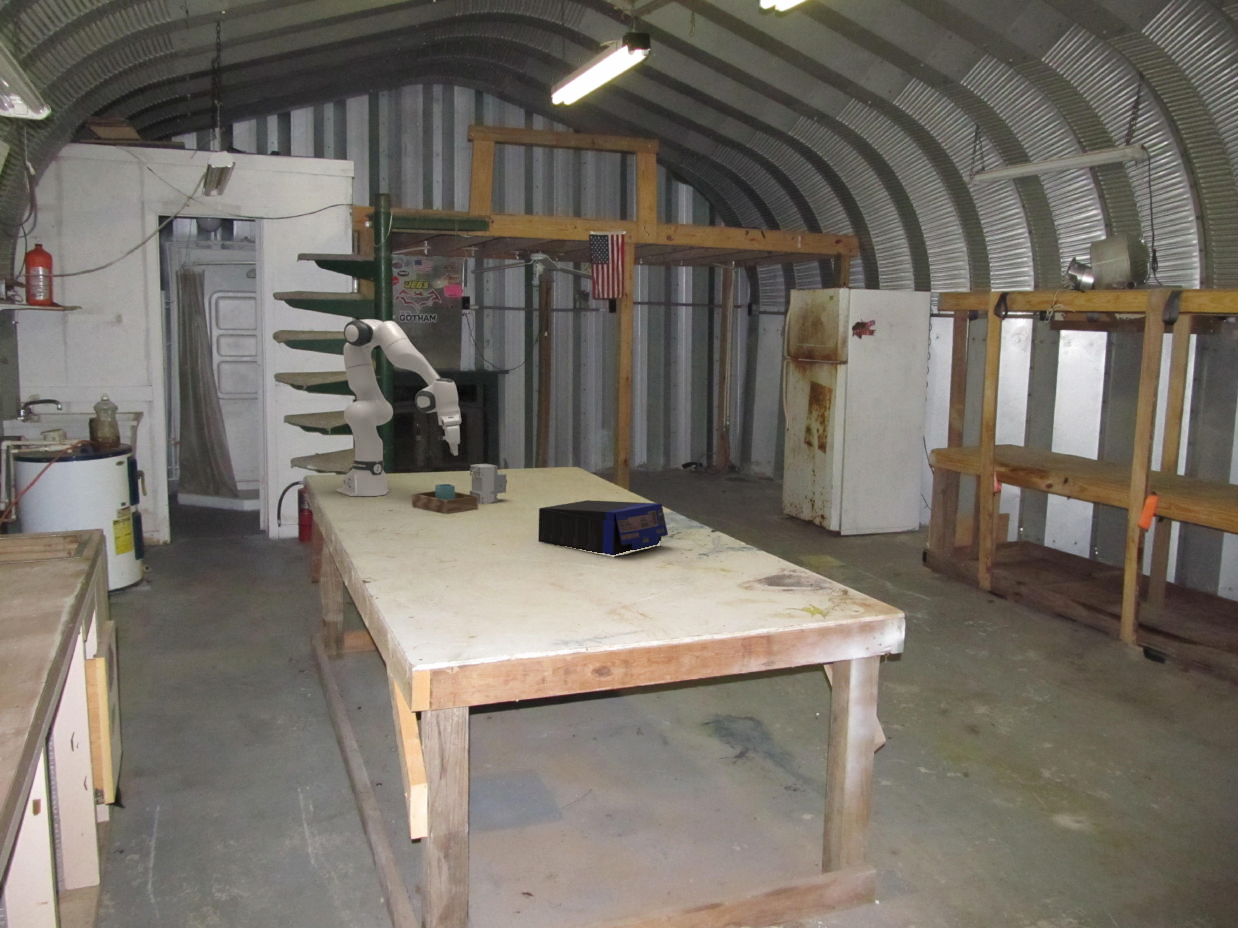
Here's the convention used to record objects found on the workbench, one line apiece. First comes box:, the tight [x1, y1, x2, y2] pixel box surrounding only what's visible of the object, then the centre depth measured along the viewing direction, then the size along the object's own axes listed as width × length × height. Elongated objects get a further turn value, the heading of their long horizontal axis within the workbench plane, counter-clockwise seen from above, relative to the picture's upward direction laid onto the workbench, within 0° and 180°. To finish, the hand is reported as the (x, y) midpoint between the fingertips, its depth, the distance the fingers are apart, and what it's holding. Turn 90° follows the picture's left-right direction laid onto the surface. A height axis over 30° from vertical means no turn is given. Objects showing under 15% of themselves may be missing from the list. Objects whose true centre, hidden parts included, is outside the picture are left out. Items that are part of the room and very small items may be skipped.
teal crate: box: [434, 483, 456, 500], centre depth 362 cm, size 6×6×8 cm
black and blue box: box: [537, 499, 669, 555], centre depth 305 cm, size 25×35×14 cm
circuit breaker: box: [469, 463, 508, 505], centre depth 379 cm, size 8×14×15 cm, turn 133°
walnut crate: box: [411, 490, 479, 515], centre depth 362 cm, size 20×16×5 cm
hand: (454, 454), depth 369 cm, fingers open, 8 cm apart
